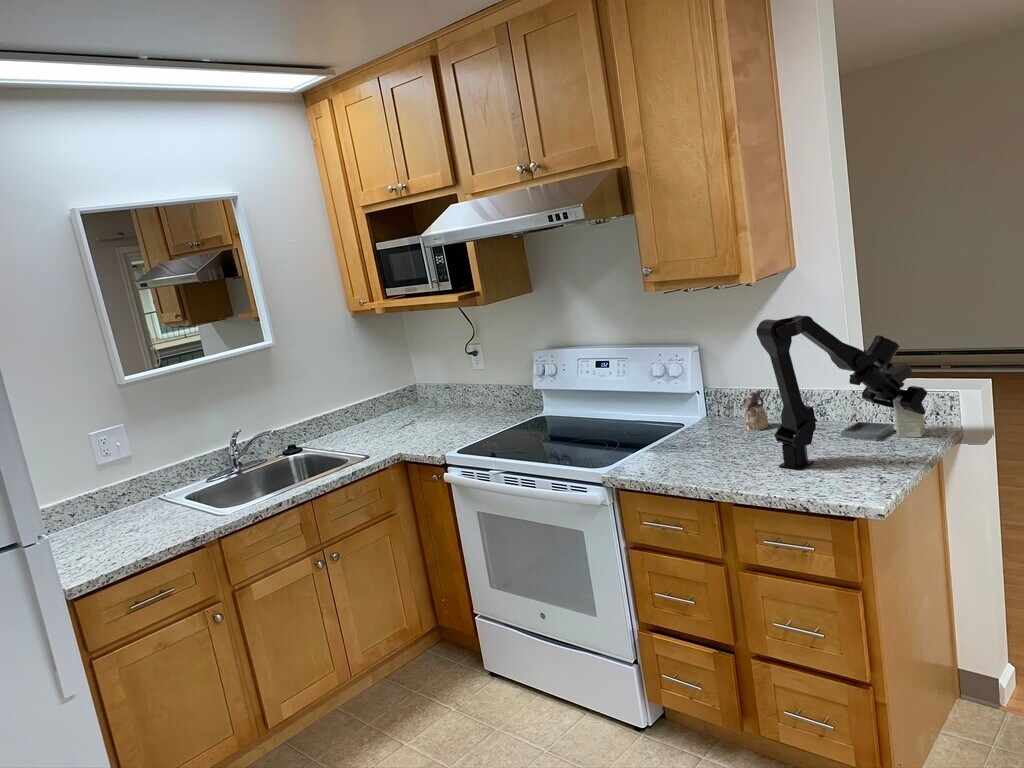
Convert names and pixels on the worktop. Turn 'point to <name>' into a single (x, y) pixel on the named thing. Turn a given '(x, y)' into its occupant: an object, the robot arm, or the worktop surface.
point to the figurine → (755, 412)
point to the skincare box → (908, 421)
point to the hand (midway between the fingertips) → (912, 410)
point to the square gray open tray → (867, 430)
